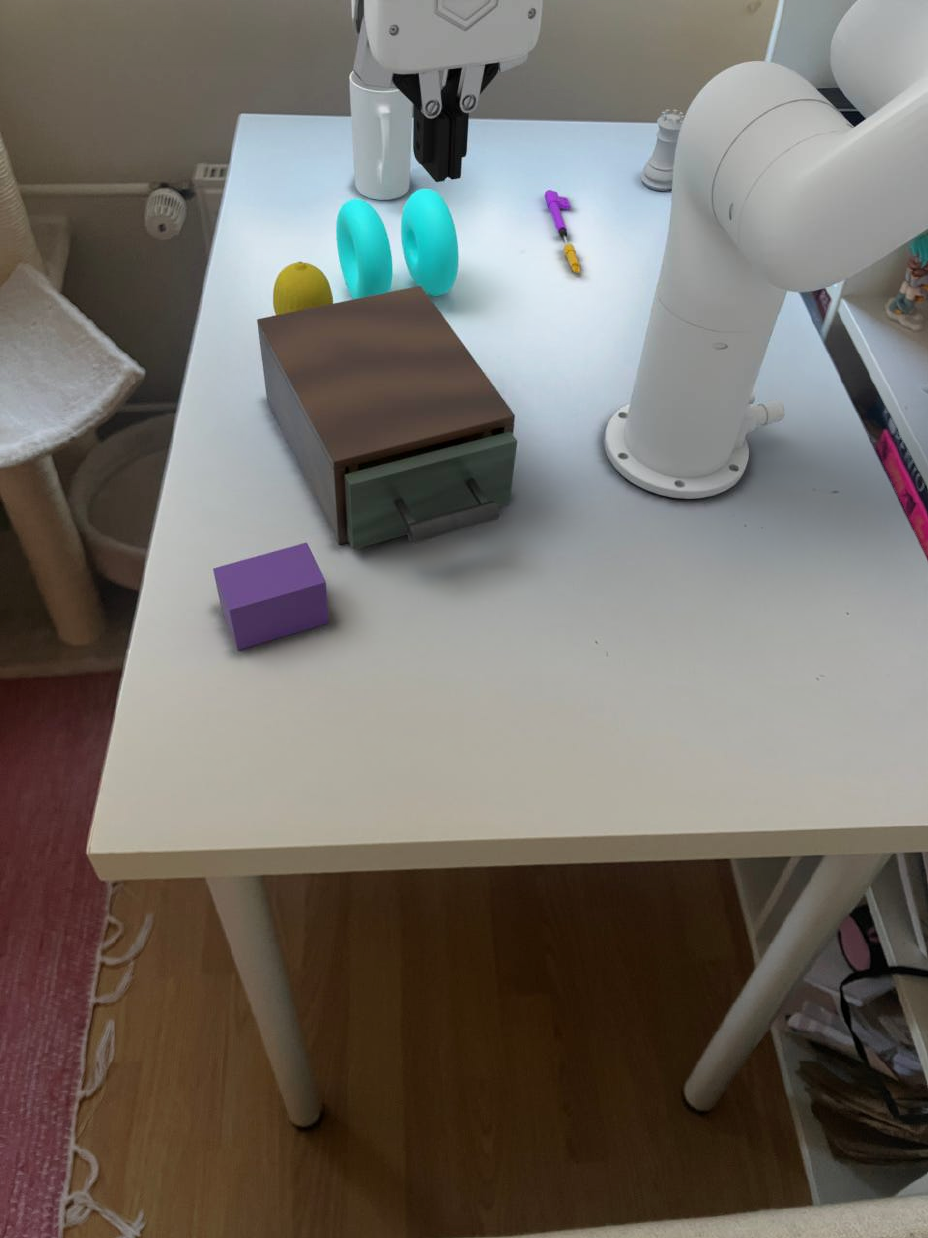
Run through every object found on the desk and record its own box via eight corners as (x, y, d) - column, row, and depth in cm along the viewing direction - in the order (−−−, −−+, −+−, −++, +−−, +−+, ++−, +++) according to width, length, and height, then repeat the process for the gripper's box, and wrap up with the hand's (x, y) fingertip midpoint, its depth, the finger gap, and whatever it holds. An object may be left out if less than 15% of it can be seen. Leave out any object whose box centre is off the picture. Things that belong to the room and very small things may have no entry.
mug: (351, 172, 117) (347, 63, 108) (408, 171, 118) (409, 63, 109) (356, 217, 111) (352, 106, 102) (416, 216, 112) (418, 105, 102)
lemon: (325, 359, 95) (320, 284, 88) (269, 349, 95) (260, 274, 89) (341, 326, 98) (338, 251, 92) (287, 317, 99) (280, 241, 92)
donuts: (460, 312, 101) (465, 218, 93) (365, 329, 98) (362, 235, 90) (425, 259, 106) (428, 167, 99) (335, 275, 104) (330, 181, 96)
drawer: (533, 540, 80) (542, 476, 74) (372, 588, 76) (371, 523, 70) (425, 379, 92) (427, 314, 87) (282, 413, 88) (275, 346, 83)
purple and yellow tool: (542, 196, 115) (570, 275, 106) (545, 186, 115) (574, 265, 105) (563, 201, 116) (593, 280, 106) (567, 191, 115) (597, 270, 106)
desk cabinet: (505, 498, 84) (515, 415, 77) (338, 545, 80) (333, 461, 73) (419, 367, 95) (421, 284, 88) (267, 403, 90) (256, 318, 83)
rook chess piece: (683, 181, 120) (699, 112, 114) (667, 196, 118) (682, 127, 111) (649, 169, 121) (663, 101, 115) (633, 184, 119) (646, 115, 113)
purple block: (310, 583, 77) (306, 541, 73) (329, 622, 75) (326, 581, 71) (221, 609, 75) (212, 568, 71) (237, 650, 72) (229, 610, 69)
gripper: (333, -164, 45) (348, 220, 59) (620, -181, 50) (570, 180, 64) (282, -207, 49) (307, 161, 64) (550, -219, 54) (518, 127, 68)
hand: (439, 169), depth 64 cm, fingers closed
